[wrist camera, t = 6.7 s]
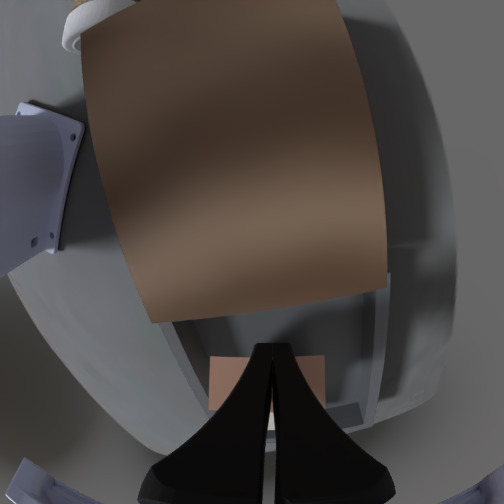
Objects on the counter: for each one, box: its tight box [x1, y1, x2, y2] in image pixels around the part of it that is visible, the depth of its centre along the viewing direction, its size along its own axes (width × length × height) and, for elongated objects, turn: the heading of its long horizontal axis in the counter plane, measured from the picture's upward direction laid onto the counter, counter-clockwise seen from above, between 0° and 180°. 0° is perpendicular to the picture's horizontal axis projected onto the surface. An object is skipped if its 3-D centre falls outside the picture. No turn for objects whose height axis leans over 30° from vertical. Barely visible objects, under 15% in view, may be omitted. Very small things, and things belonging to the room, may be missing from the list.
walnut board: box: [80, 0, 387, 323], centre depth 10 cm, size 14×10×5 cm
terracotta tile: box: [209, 355, 325, 413], centre depth 13 cm, size 5×5×2 cm
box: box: [159, 269, 391, 443], centre depth 16 cm, size 14×12×3 cm
